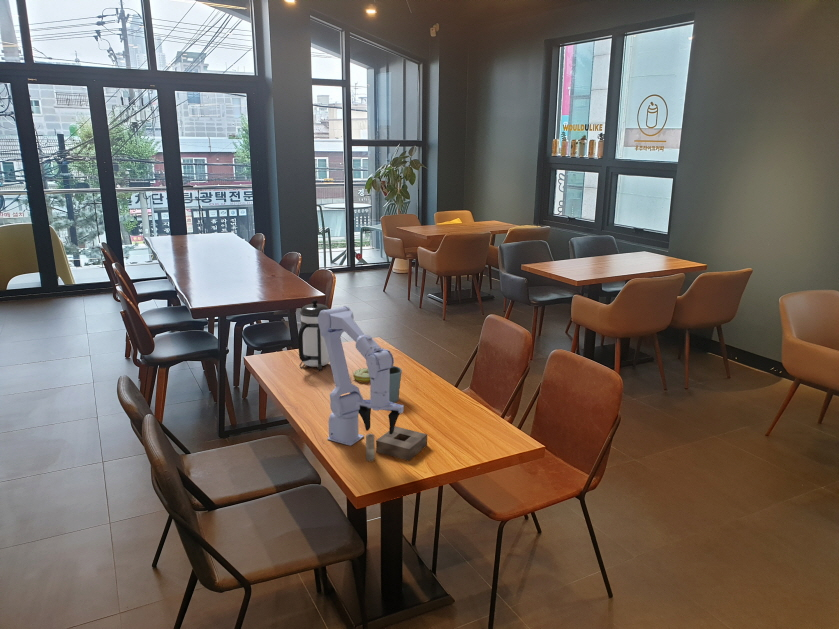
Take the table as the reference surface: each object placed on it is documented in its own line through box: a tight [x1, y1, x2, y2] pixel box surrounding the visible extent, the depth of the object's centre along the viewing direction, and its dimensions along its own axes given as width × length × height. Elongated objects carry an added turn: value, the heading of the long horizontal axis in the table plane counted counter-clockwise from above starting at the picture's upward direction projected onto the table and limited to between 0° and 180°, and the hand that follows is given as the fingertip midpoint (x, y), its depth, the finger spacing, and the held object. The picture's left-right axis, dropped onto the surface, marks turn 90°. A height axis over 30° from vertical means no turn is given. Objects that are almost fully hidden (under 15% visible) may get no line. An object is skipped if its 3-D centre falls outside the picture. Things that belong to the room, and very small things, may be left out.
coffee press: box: [297, 299, 330, 372], centre depth 272 cm, size 17×16×30 cm
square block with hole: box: [375, 425, 428, 462], centre depth 203 cm, size 12×12×4 cm
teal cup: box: [389, 365, 403, 403], centre depth 241 cm, size 10×10×12 cm
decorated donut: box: [353, 367, 370, 384], centre depth 263 cm, size 10×11×4 cm
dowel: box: [365, 433, 376, 462], centre depth 195 cm, size 3×3×8 cm
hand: (379, 431), depth 194 cm, fingers open, 7 cm apart
